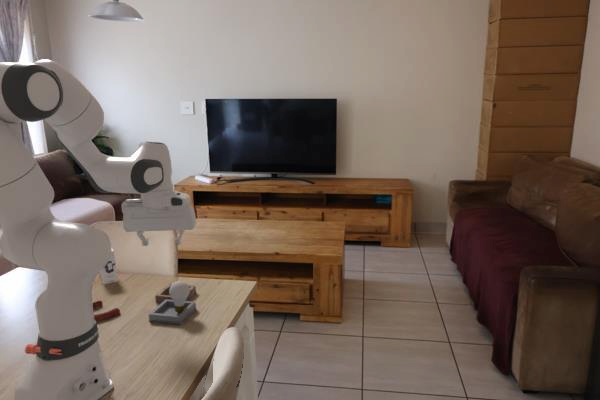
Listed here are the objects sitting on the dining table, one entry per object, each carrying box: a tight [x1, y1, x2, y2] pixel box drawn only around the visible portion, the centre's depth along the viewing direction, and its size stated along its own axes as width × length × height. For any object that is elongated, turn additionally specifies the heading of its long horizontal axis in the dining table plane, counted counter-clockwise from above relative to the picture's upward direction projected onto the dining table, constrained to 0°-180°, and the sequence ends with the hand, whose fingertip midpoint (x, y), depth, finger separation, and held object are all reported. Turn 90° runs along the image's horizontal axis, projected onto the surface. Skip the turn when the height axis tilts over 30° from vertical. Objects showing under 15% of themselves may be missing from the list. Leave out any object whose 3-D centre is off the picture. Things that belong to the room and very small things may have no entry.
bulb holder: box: [154, 283, 197, 304], centre depth 149 cm, size 9×9×2 cm
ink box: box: [98, 246, 118, 285], centre depth 164 cm, size 8×5×12 cm, turn 32°
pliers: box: [92, 300, 121, 323], centre depth 135 cm, size 12×20×3 cm, turn 145°
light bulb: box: [169, 280, 190, 313], centre depth 136 cm, size 6×6×10 cm
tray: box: [148, 299, 197, 326], centre depth 137 cm, size 10×10×2 cm
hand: (162, 244), depth 133 cm, fingers open, 8 cm apart
